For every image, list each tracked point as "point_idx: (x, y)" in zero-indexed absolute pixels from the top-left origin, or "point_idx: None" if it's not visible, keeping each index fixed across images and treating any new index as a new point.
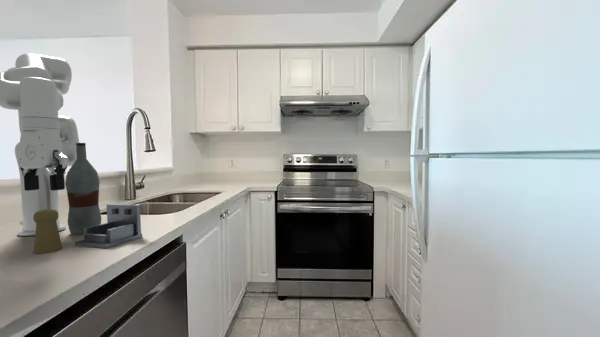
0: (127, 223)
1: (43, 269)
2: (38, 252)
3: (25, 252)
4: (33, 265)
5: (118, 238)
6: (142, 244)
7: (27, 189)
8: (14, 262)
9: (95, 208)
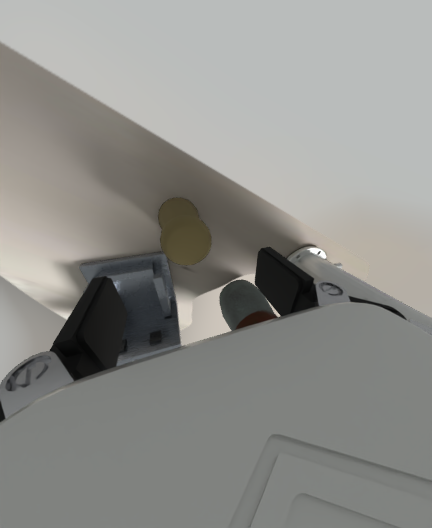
0: (127, 326)
1: (9, 127)
2: (170, 199)
3: (204, 196)
4: (77, 143)
5: None
6: (48, 300)
7: (259, 252)
8: (147, 146)
9: (232, 330)
